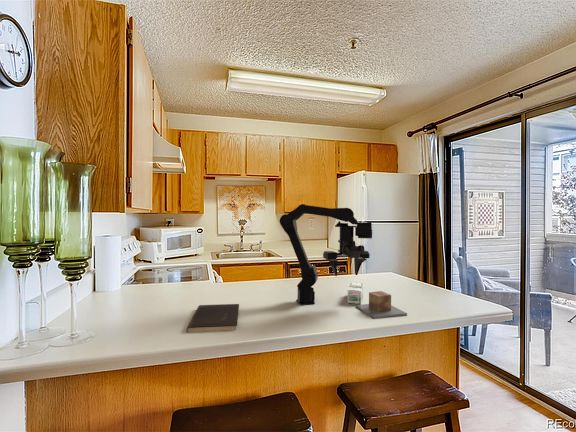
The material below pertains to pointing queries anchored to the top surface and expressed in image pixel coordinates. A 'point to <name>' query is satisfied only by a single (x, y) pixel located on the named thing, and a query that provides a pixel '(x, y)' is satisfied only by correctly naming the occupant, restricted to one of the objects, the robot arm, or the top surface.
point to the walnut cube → (380, 301)
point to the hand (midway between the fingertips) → (346, 275)
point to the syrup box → (355, 293)
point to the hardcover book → (214, 318)
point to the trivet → (382, 314)
